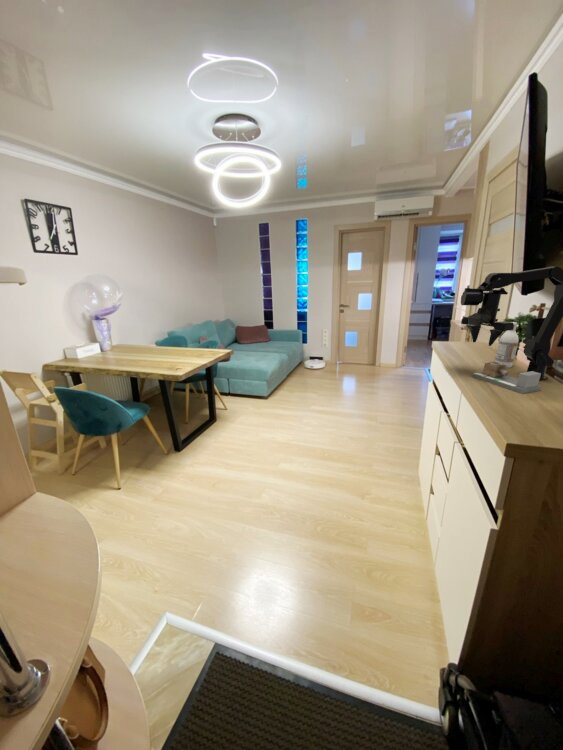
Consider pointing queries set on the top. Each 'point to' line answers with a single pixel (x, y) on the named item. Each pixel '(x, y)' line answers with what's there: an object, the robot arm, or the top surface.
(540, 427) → the top surface
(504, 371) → the gauge carriage
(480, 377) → the gauge rail
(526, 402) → the top surface
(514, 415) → the top surface
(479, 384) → the top surface
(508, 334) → the bath foam
